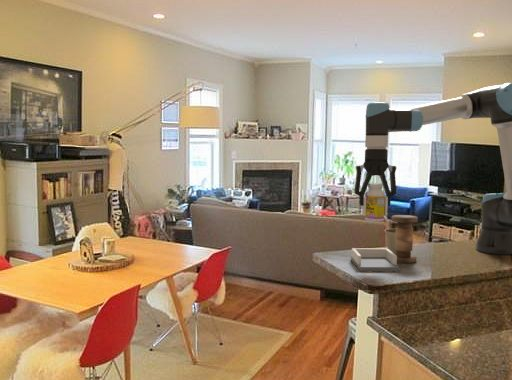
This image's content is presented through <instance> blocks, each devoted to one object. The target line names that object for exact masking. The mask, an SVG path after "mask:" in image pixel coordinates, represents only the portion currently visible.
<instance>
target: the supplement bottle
mask: <svg viewBox="0 0 512 380" xmlns="http://www.w3.org/2000/svg"><path fill="white" fill-rule="evenodd" d="M367 188H368V190H366V192H365V194H364V196H366V216H364V220H365V221H367V222H372V223H377V222H378V223H379V222H383V221H384V220H385V215H384V211H385V196H386V194H385V191H384V190H382V189H383V184H382V182H381V183H379V182H373V183H372V182H371V183H370V182H369V184H368V187H367Z"/></svg>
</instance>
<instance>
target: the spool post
mask: <svg viewBox="0 0 512 380" xmlns="http://www.w3.org/2000/svg"><path fill="white" fill-rule="evenodd" d="M418 219H419V217H418V216H416V215H409V214H408V215H407V214H406V215H405V214H395V215H392V216H391V221H392V222H395V223H396V225H397V226H395V229H396V236H395V250H397V251H396V254H395V255H396V256H397V263H398V264H414V263H417V255H413V254H412V251H413V247H414V246H413V241H414V227H412V224H414V223H415V224H416V223H418V221H419V220H418Z"/></svg>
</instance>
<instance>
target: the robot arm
mask: <svg viewBox="0 0 512 380" xmlns="http://www.w3.org/2000/svg"><path fill="white" fill-rule="evenodd" d="M486 118H487V119H488V118H489V119H490V123H491V126H493V127H495V128H496V131H497V132H496V133H497V137H498V138H497V139H498V145H499V150H500V151H499V152H500V156H501V164H502V169H503V174H504V175H503V177H504V182H505V188H506V192H500V193H497V192H496V193H485V194H484V195H483V196H482V202H481V205H482V206H481V229H480V233H479V235H478V238H477V240H476V242H475V250H476V251H478V252H481V253H486V254H493V255H505V256H506V255H512V82H505V83H501V84H496V85H489V86H485V87H481V88H480V89H476V90H474V91H471V92H470V91H469V92H466V93H462V94H460V95H459V96H458V97H456V98H455V97H454V98H451V99H446V100H441V101H434V102H430V103H426V104H420V105H415V106H409V107H405V108H396V109H395V108H390V104H389V102H384V101H383V102H381V101H378V102H376V101H375V102H370V103H368V104H367V105H366V109H365V140H364V141H365V144H364V147H365V148H366V149H365V150H364V162H363V164H361V165H356V166H355V171H356V174H355V181H354V183H355V184H354V189H353V193H354V194H355V195H356V196H359V200H358V201H359V203H358V204H359V206H361V215H362V216H364V217H365V216H366V196H365V193H366V192H367V189H368V188H369V187H368V184H369V183H370V181H371V179H372V177H373V176H377V177H378V176H379V178H380V181H381V184H382V189H383V192H384V193H385V211H384V217H386V216H388V207H390V206H391V200H392V199H391V197H392V196H395V195H397V184H396V170H397V166H396V165H391V164H389V162H388V154H389V151H388V149H387V148H388V147H389V133H396V132H397V133H398V132H411V133H412V132H419V131H420V130H421V128H422V127H423V126H425V125H431V124H435V123H436V124H437V123H440V122H441V123H442V122H445V121H446V122H447V121H451V120H456V119H462V120H469V119H486ZM363 170H365V172H366V173H365V178H364V180H363V183H362V185H361V180H362V172H363ZM387 170H388V172H389V183H390V186H389V184H388V181H387V180H388V179H387V178H386V174H385V172H386V171H387Z"/></svg>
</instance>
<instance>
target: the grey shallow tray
mask: <svg viewBox="0 0 512 380" xmlns="http://www.w3.org/2000/svg"><path fill="white" fill-rule="evenodd" d="M350 255H351V256H350V261H351V260H352V261H351V262H352V263H353V265H354V266H355V265H356V266H357V267H356V266H355V267H356V268H357V270H358V271H359V270H360V271H383V273H385V272H387V273H388V272H389V273H390V272H392V273H395V272H397V273H398V272H399V273H400V268H401V267H400V266H399V265H398V264H397V256H396V255H395V254H394V253H393V252H391V251H390V250H389V249H388V247H387V248H386V247H385V248H383V247H382V248H379V247H378V248H374V247H373V248H372V247H371V248H369V247H367V248H365V247H361V248H360V247H358V248H357V247H356V248H355V247H353V248H351V253H350ZM360 271H359V272H360ZM393 271H394V272H393Z"/></svg>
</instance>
